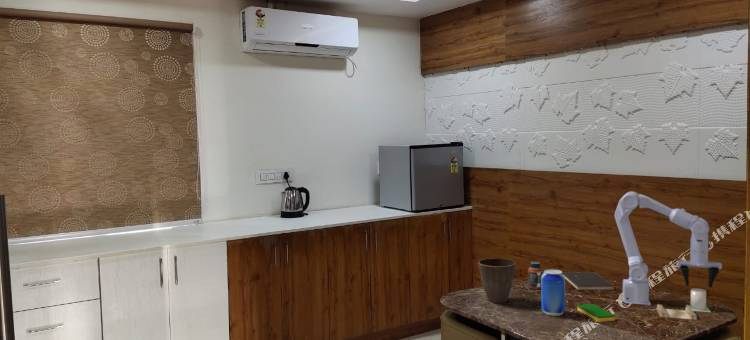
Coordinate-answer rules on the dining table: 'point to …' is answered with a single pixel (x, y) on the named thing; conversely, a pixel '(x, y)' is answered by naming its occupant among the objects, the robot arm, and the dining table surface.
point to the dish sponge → (596, 312)
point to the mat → (698, 310)
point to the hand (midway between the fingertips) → (698, 286)
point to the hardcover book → (587, 281)
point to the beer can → (553, 292)
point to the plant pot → (497, 278)
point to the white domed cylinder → (698, 299)
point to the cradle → (676, 313)
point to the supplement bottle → (535, 276)
